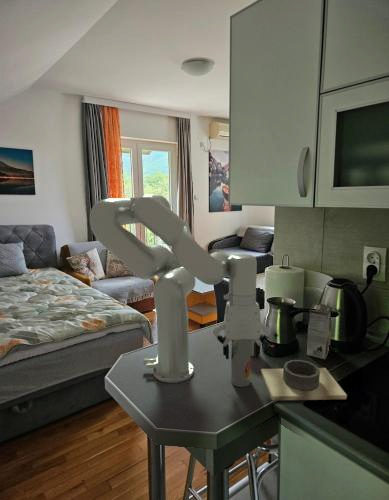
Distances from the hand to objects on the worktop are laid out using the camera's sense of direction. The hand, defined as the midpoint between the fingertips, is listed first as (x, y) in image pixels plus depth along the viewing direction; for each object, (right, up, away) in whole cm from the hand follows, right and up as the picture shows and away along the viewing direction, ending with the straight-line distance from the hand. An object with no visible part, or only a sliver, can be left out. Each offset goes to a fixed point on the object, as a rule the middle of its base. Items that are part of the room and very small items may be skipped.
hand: (241, 356), depth 95 cm
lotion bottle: (0, -8, +1) cm, 8 cm away
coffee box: (+30, -5, +20) cm, 36 cm away
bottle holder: (+17, -8, 0) cm, 19 cm away
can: (+5, -5, +19) cm, 20 cm away
